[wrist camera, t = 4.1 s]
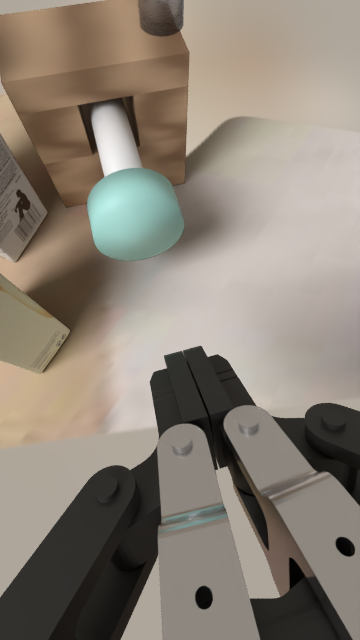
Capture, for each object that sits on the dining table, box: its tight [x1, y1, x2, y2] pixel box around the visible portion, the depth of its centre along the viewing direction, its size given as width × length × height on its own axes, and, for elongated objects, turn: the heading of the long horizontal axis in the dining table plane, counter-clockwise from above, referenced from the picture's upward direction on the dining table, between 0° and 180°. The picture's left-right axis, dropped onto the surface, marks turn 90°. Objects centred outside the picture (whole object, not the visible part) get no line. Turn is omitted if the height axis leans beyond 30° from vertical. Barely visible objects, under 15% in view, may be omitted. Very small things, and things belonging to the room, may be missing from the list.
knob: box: [87, 97, 184, 261], centre depth 21 cm, size 6×14×6 cm, turn 15°
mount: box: [0, 0, 189, 207], centre depth 25 cm, size 12×7×11 cm, turn 105°
